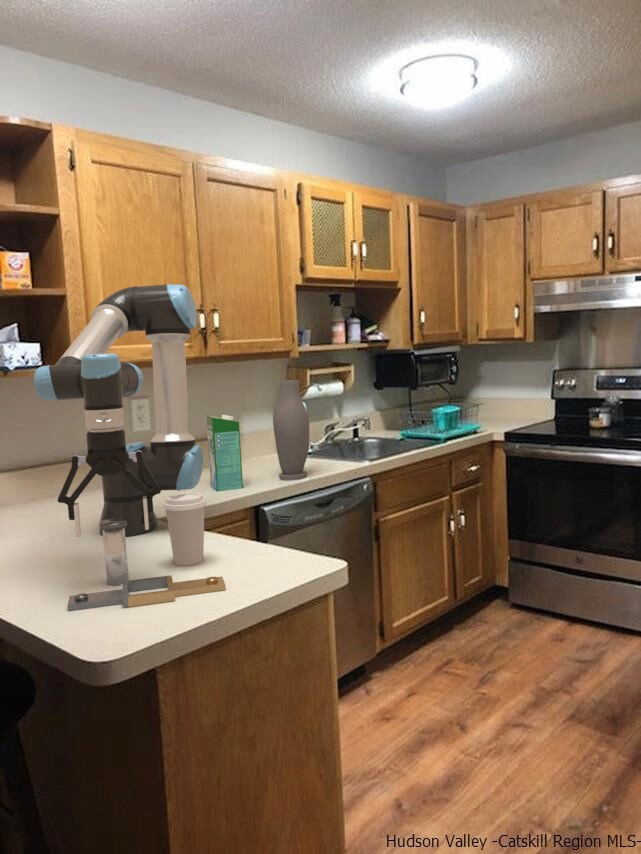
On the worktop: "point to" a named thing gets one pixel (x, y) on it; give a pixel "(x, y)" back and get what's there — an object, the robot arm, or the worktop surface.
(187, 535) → the coffee cup
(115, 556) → the pin
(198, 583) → the link plate bronze
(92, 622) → the worktop surface
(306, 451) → the vase
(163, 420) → the robot arm
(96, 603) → the link plate steel
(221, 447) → the milk carton
